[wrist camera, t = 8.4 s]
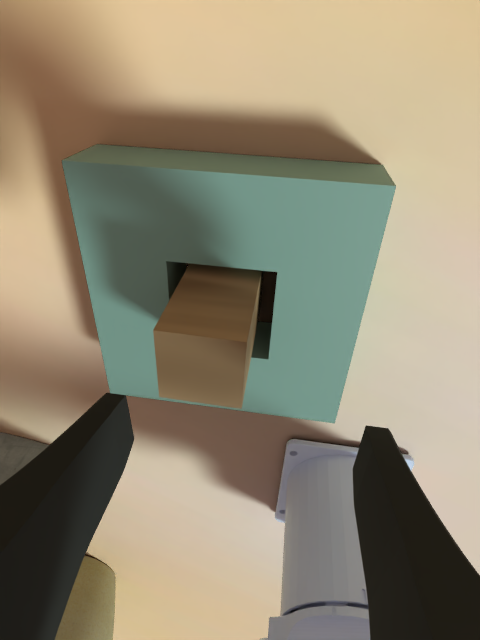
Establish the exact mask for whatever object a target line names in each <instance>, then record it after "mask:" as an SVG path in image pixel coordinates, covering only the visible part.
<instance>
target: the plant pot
mask: <svg viewBox="0 0 480 640" xmlns="http://www.w3.org/2000/svg"><path fill="white" fill-rule="evenodd" d="M114 613H115V574H114V572H113V571H112V570H111V569H110V568H109V567H108V566H107V565H105V564H104V563H102V562H100V561H98V560H96V559H94V558H91V557H89V556H84V558H83V561H82V563H81V566H80V569H79V572H78V574H77V577H76V580H75V582H74V585H73V588H72V591H71V593H70V596H69V599H68V602H67V605H66V608H65V611H64V614H63V617H62V619H61V622H60V625H59V628H58V631H57V634H56V637H55V640H113V628H114Z"/></svg>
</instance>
